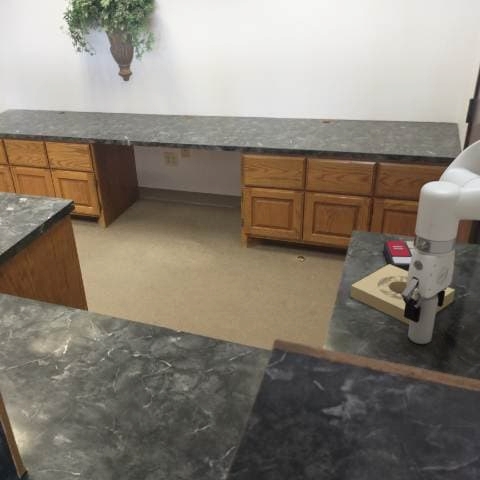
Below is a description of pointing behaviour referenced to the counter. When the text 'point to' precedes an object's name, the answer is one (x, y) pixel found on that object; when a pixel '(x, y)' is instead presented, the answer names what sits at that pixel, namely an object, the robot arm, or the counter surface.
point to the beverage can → (424, 320)
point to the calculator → (399, 253)
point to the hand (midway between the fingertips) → (423, 311)
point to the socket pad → (389, 292)
